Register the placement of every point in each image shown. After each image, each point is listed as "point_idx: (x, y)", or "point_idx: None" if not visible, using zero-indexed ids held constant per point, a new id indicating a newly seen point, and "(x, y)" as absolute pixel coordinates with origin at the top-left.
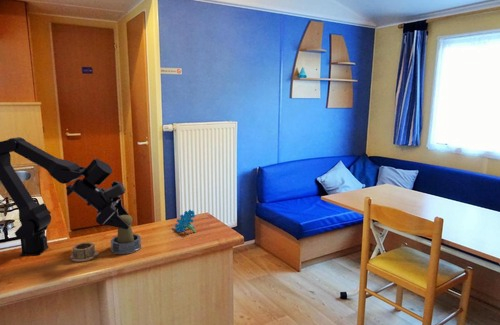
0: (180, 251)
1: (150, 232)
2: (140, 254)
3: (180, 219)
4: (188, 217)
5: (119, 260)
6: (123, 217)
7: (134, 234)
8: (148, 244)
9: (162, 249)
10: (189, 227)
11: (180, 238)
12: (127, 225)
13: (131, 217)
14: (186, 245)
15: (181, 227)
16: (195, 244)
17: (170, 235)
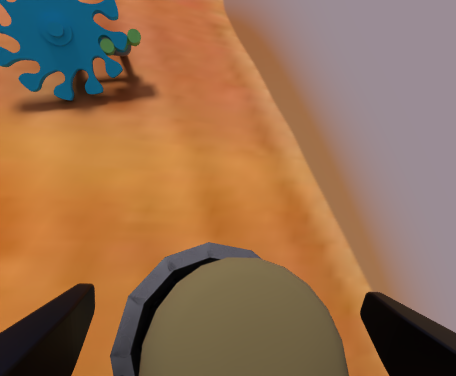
0: (287, 124)
1: (7, 205)
2: (294, 259)
3: (17, 40)
4: (68, 3)
5: (350, 361)
6: (321, 368)
7: (154, 281)
8: (186, 222)
9: (258, 173)
10: (137, 43)
11: (165, 103)
12: (398, 302)
13: (248, 259)
14: (241, 100)
15: (92, 68)
16: (239, 78)
17: (111, 128)
